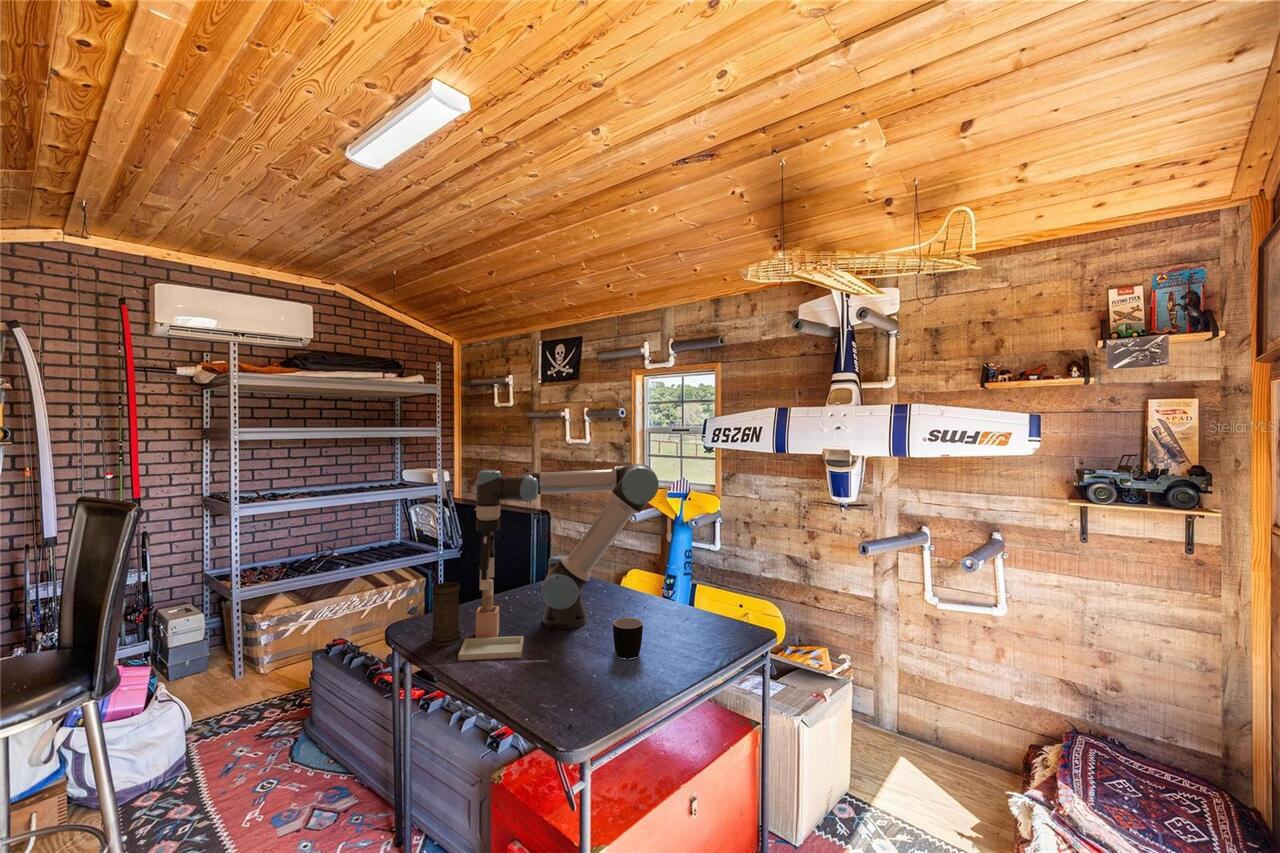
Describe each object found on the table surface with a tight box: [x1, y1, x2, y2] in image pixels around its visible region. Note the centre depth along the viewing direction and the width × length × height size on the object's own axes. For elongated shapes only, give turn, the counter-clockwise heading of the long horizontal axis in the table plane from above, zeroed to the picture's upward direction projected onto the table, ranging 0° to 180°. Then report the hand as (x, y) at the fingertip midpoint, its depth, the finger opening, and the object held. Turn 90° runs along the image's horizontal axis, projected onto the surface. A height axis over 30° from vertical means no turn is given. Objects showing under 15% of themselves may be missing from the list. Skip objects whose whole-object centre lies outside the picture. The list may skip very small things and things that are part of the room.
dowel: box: [481, 578, 494, 613], centre depth 181 cm, size 3×3×18 cm
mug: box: [612, 617, 644, 659], centre depth 169 cm, size 12×9×10 cm
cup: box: [475, 605, 500, 638], centre depth 181 cm, size 7×7×9 cm
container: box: [430, 581, 462, 647], centre depth 177 cm, size 9×9×18 cm
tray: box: [457, 635, 525, 661], centre depth 169 cm, size 18×12×2 cm, turn 98°
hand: (487, 583), depth 181 cm, fingers open, 13 cm apart
